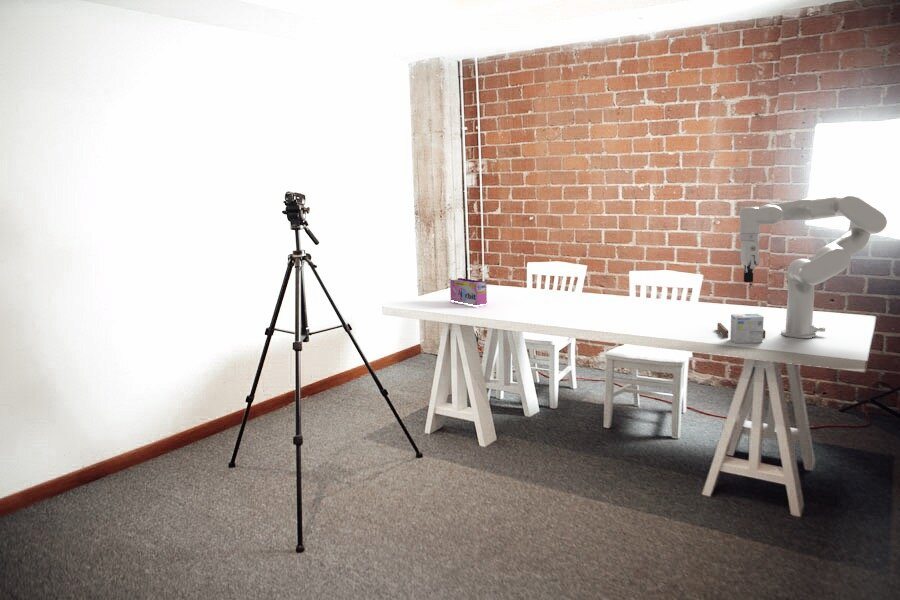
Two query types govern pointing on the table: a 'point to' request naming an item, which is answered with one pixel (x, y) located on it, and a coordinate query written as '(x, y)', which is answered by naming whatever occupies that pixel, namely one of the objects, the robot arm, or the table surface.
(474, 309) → the table surface
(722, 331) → the walnut chute
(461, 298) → the gum box
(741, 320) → the light bulb box
